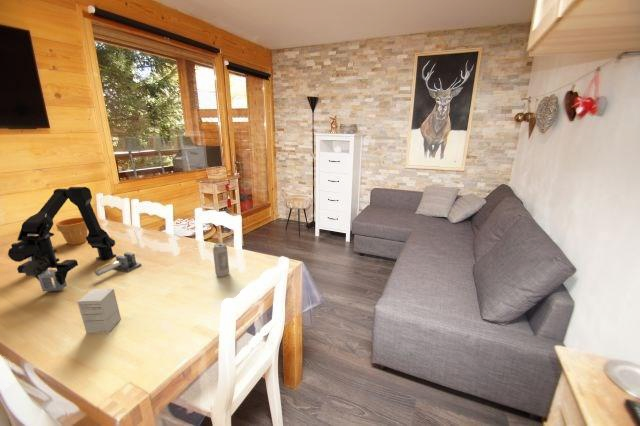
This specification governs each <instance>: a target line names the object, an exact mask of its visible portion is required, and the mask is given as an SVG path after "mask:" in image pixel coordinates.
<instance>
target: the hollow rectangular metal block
mask: <svg viewBox="0 0 640 426" xmlns="http://www.w3.org/2000/svg"><path fill="white" fill-rule="evenodd" d="M56 271H57V269H47V270H46V271H43V272H42V273H41V274H40V275H38V278H39V280H38V281H39V284H40V287H41V290H42V292H60V291H61V290H63V289H65V288H66V287H68V286H67V285H68V284H67V281H66V279H65V282H64V284H63V285H61V283H60V281H59V278H58V275H57V274H55V272H56ZM52 279H53V281H52Z"/></svg>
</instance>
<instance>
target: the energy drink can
mask: <svg viewBox="0 0 640 426" xmlns="http://www.w3.org/2000/svg"><path fill="white" fill-rule="evenodd" d="M212 252H213V253H212V254H213V260H214V263H213V264H214V270H215V271H214V272H215V275H216V276H217V277H219V278H225V277H227V276H228V275H229V273H230V266H229V256H228V255H229V254H228V246H227V245H226V243H225V242H224V243H223V242H218V243H215V244H214V245H213V248H212Z"/></svg>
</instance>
